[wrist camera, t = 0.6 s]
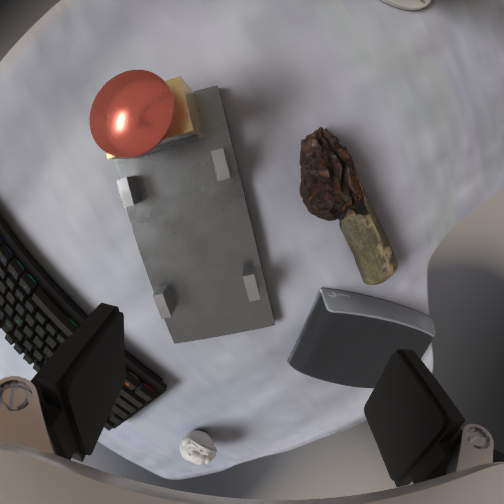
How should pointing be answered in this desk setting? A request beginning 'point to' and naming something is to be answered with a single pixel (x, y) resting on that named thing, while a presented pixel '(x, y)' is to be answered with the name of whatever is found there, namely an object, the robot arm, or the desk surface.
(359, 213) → the morel mushroom
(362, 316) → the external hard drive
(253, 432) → the desk surface
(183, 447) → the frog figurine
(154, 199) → the stand
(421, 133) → the desk surface
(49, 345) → the keyboard
